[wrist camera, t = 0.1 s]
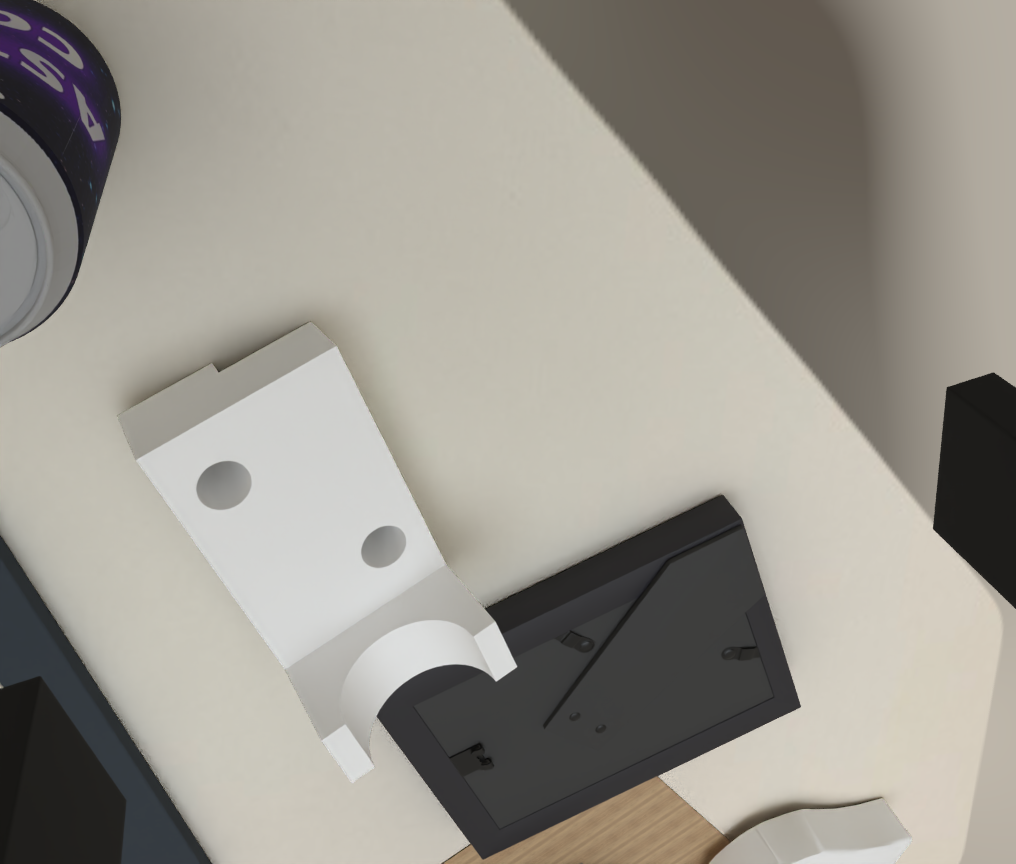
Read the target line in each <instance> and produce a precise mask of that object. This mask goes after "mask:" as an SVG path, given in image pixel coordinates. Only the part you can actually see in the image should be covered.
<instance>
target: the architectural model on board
mask: <svg viewBox="0 0 1016 864" xmlns="http://www.w3.org/2000/svg"><path fill="white" fill-rule="evenodd" d="M730 843H731V842H730V841H729V840H728V839H727V838H726V837H725V836H723V835H722V834H721V833H720V832H719V831H718V830H717V829H716V828H714V827H713V826H712V825H711V824H710V823H709V822H708V821H707V820H705V819H704V818H703V817H702V816H701V815H700V814H699V813H698V812H696V811H695V810H694V809H693V808H692V807H691V806H690V805H689V804H687V803H686V802H685V801H684V800H683V799H682V798H681V797H679V796H678V795H677V794H676V793H675V792H674V791H673V790H672V789H670V788H669V787H668V786H667V785H666V784H665V783H664V782H663V781H661V780H660V779H659V778H658V777H654V778H652V779H650V780H648V781H646V782H644V783H642V784H640V785H638V786H636V787H634V788H632V789H630V790H627V791H625V792H623V793H621V794H619V795H617V796H615V797H613V798H611V799H609V800H607V801H605V802H602V803H600V804H598V805H596V806H594V807H592V808H590V809H588V810H586V811H584V812H582V813H580V814H578V815H575V816H573V817H571V818H569V819H567V820H565V821H563V822H561V823H559V824H557V825H555V826H553V827H550V828H548V829H546V830H544V831H542V832H540V833H538V834H536V835H534V836H532V837H530V838H528V839H526V840H523V841H521V842H519V843H517V844H515V845H513V846H511V847H509V848H507V849H505V850H503V851H501V852H499V853H496V854H494V855H492V856H490V857H488V858H486V859H484V860H483V859H482V858H481V857H480V856H479V854H478V853H477V852H476V850H475V849H474V847H473V846H472V845H470V846H468V847H467V848H465V849H464V850H462V851H461V852H459V853H458V854H456V855H455V856H454V857H452V858H451V859H449V860H448V861H446V862H445V863H443V864H709V863H710V862H711V860H712V859H713V858H714V857H715V856H716V855H717V854H718V853H719V852H720V851H721V850H723V849H724V848H725V847H726V846H727V845H728V844H730Z"/></svg>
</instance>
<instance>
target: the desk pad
mask: <svg viewBox="0 0 1016 864" xmlns="http://www.w3.org/2000/svg"><path fill="white" fill-rule="evenodd" d="M38 676H41V677H42V678H43V680H44V681H45V683H46V684H47V686H48V687H49V689H50V690H51V691H52V693H53V694H54V696H55V697H56V699H57V700H58V702H59V703H60V705H61V706H62V707H63V709H64V710H65V712H66V713H67V715H68V716H69V718H70V719H71V720H72V722H73V723H74V725H75V726H76V728H77V729H78V731H79V732H80V734H81V735H82V736H83V738H84V739H85V741H86V742H87V744H88V745H89V747H90V748H91V749H92V751H93V752H94V754H95V755H96V757H97V758H98V760H99V761H100V763H101V764H102V765H103V767H104V768H105V770H106V771H107V773H108V774H109V776H110V777H111V778H112V780H113V781H114V783H115V784H116V786H117V787H118V789H119V790H120V792H121V793H122V794H123V796H124V797H125V799H126V800H127V801H126V813H125V824H124V836H123V847H122V859H121V864H211V862H210V861H209V859H208V857H207V856H206V854H205V853H204V851H203V850H202V848H201V847H200V845H199V843H198V842H197V840H196V839H195V837H194V836H193V834H192V833H191V831H190V829H189V828H188V826H187V825H186V823H185V822H184V820H183V819H182V817H181V815H180V814H179V812H178V811H177V809H176V808H175V806H174V805H173V803H172V802H171V800H170V798H169V797H168V795H167V794H166V792H165V791H164V789H163V788H162V786H161V784H160V783H159V781H158V780H157V778H156V777H155V775H154V774H153V772H152V770H151V769H150V767H149V766H148V764H147V763H146V761H145V760H144V758H143V756H142V755H141V753H140V752H139V750H138V749H137V747H136V746H135V744H134V742H133V741H132V739H131V738H130V736H129V735H128V733H127V732H126V730H125V728H124V727H123V725H122V724H121V722H120V721H119V719H118V718H117V716H116V715H115V713H114V711H113V710H112V708H111V707H110V705H109V704H108V702H107V701H106V699H105V697H104V696H103V694H102V693H101V691H100V690H99V688H98V687H97V685H96V683H95V682H94V680H93V679H92V677H91V676H90V674H89V673H88V671H87V669H86V668H85V666H84V665H83V663H82V662H81V660H80V659H79V657H78V655H77V654H76V652H75V651H74V649H73V648H72V646H71V645H70V643H69V641H68V640H67V638H66V637H65V635H64V634H63V632H62V631H61V629H60V628H59V626H58V624H57V623H56V621H55V620H54V618H53V617H52V615H51V614H50V612H49V610H48V609H47V607H46V606H45V604H44V603H43V601H42V600H41V598H40V596H39V595H38V593H37V592H36V590H35V589H34V587H33V586H32V584H31V582H30V581H29V579H28V578H27V576H26V575H25V573H24V572H23V570H22V568H21V567H20V565H19V564H18V562H17V561H16V559H15V558H14V556H13V554H12V553H11V551H10V550H9V548H8V547H7V545H6V544H5V542H4V541H3V539H2V537H1V536H0V688H3V687H7V686H10V685H13V684H16V683H19V682H22V681H25V680H29V679H32V678H35V677H38Z"/></svg>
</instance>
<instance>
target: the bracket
mask: <svg viewBox="0 0 1016 864" xmlns="http://www.w3.org/2000/svg"><path fill="white" fill-rule="evenodd" d="M117 417H118V420H119V422H120V424H121V427H122V429H123V431H124V434H125V436H126V438H127V441H128V443H129V445H130V448H131V450H132V452H133V455H134V457H135V459H136V461H137V462H138V464H139V465H140V467H141V468H142V469H143V471H144V472H145V474H146V475H147V477H148V478H149V479H150V481H151V482H152V484H153V485H154V486H155V488H156V489H157V491H158V492H159V493H160V495H161V496H162V498H163V499H164V500H165V502H166V503H167V505H168V506H169V507H170V509H171V510H172V512H173V513H174V514H175V516H176V517H177V519H178V520H179V522H180V523H181V524H182V526H183V527H184V529H185V530H186V531H187V533H188V534H189V536H190V537H191V538H192V540H193V541H194V543H195V544H196V545H197V547H198V548H199V550H200V551H201V552H202V554H203V555H204V557H205V558H206V559H207V561H208V562H209V564H210V565H211V567H212V568H213V569H214V571H215V572H216V574H217V575H218V576H219V578H220V579H221V581H222V582H223V583H224V585H225V586H226V588H227V589H228V590H229V592H230V593H231V595H232V596H233V597H234V599H235V600H236V602H237V603H238V605H239V606H240V607H241V609H242V610H243V612H244V613H245V614H246V616H247V617H248V619H249V620H250V621H251V623H252V624H253V626H254V627H255V628H256V630H257V631H258V633H259V634H260V635H261V637H262V638H263V640H264V641H265V642H266V644H267V645H268V647H269V648H270V650H271V651H272V652H273V654H274V655H275V657H276V658H277V659H278V661H279V662H280V664H281V665H282V666H283V668H284V669H285V671H286V673H287V675H288V677H289V679H290V681H291V683H292V685H293V687H294V688H295V690H296V692H297V694H298V696H299V698H300V700H301V702H302V704H303V706H304V708H305V710H306V712H307V714H308V716H309V718H310V720H311V722H312V724H313V726H314V728H315V730H316V732H317V734H318V736H319V738H320V739H321V741H322V743H323V744H324V745H325V747H326V748H327V749H328V751H329V752H330V754H331V755H332V756H333V758H334V759H335V761H336V762H337V763H338V765H339V766H340V767H341V769H342V770H343V772H344V773H345V774H346V776H347V777H348V778H349V780H350V781H351V783H353V782H355V781H356V780H357V779H359V778H360V777H362V776H363V775H365V774H366V773H367V772H369V771H370V770H372V769H373V768H374V767H375V766H374V764H373V762H372V758H371V755H370V744H369V742H370V734H371V729H372V726H373V723H374V721H375V718H376V716H377V714H378V712H379V710H380V709H381V707H382V706H383V704H384V703H385V702H386V700H387V699H388V698H389V697H390V696H391V694H392V693H393V692H394V691H395V690H396V689H398V688H399V687H400V686H401V685H402V684H404V683H405V682H406V681H408V680H409V679H411V678H412V677H414V676H416V675H417V674H420V673H422V672H424V671H426V670H429V669H432V668H435V667H439V666H443V665H451V664H460V665H468V666H473V667H476V668H478V669H481V670H483V671H484V672H486V673H488V674H489V675H490V676H491V677H492V678H493V679H494V680H495V681H496V682H497V681H498V680H499V679H501V678H502V677H504V676H505V675H506V674H508V673H509V672H511V671H512V670H514V669H515V668H516V667H517V665H516V663H515V661H514V659H513V657H512V655H511V653H510V651H509V649H508V647H507V644H506V642H505V640H504V638H503V636H502V634H501V632H500V630H499V628H498V626H497V624H496V622H495V620H494V619H493V618H492V617H491V616H490V615H489V613H488V612H487V611H486V610H485V609H484V608H483V606H482V605H481V604H480V603H479V602H478V601H477V599H476V598H475V597H474V596H473V595H472V594H471V592H470V591H469V590H468V589H467V588H466V587H465V585H464V584H463V583H462V582H461V581H460V580H459V579H458V577H457V576H456V575H455V574H454V573H453V572H452V570H451V569H450V568H449V567H448V566H447V565H446V563H445V561H444V559H443V557H442V555H441V553H440V551H439V549H438V547H437V545H436V543H435V541H434V539H433V537H432V535H431V533H430V531H429V529H428V527H427V525H426V523H425V521H424V519H423V517H422V515H421V513H420V511H419V509H418V507H417V505H416V503H415V501H414V499H413V497H412V495H411V493H410V491H409V489H408V487H407V485H406V483H405V481H404V479H403V477H402V475H401V473H400V471H399V469H398V467H397V465H396V463H395V461H394V459H393V457H392V455H391V453H390V451H389V449H388V447H387V445H386V443H385V441H384V439H383V437H382V435H381V433H380V431H379V429H378V427H377V425H376V423H375V421H374V419H373V417H372V415H371V413H370V411H369V409H368V407H367V405H366V403H365V401H364V399H363V397H362V395H361V393H360V391H359V389H358V387H357V385H356V383H355V381H354V379H353V377H352V375H351V373H350V371H349V369H348V367H347V365H346V363H345V362H344V360H343V358H342V356H341V354H340V352H339V350H338V348H337V346H336V345H335V344H334V343H333V342H332V341H331V340H330V339H329V338H328V337H327V336H326V335H325V334H324V333H323V332H322V331H321V330H319V329H318V328H317V327H316V326H315V325H314V324H313V323H312V322H311V321H310V322H308V323H307V324H305V325H303V326H301V327H299V328H298V329H296V330H294V331H292V332H290V333H289V334H287V335H285V336H283V337H282V338H280V339H278V340H276V341H274V342H273V343H271V344H269V345H267V346H265V347H264V348H262V349H260V350H258V351H256V352H255V353H253V354H251V355H249V356H247V357H246V358H244V359H242V360H240V361H238V362H237V363H235V364H233V365H231V366H230V367H228V368H226V369H224V370H222V371H221V372H218V371H217V369H216V368H215V367H214V365H213V364H212V363H211V364H209V365H207V366H206V367H204V368H202V369H200V370H198V371H197V372H195V373H193V374H191V375H189V376H188V377H186V378H184V379H182V380H180V381H179V382H177V383H175V384H173V385H171V386H170V387H168V388H166V389H164V390H162V391H160V392H159V393H157V394H155V395H153V396H151V397H150V398H148V399H146V400H144V401H142V402H141V403H139V404H137V405H135V406H133V407H132V408H130V409H128V410H126V411H124V412H123V413H121V414H119V415H117Z"/></svg>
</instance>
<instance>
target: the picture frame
mask: <svg viewBox="0 0 1016 864" xmlns="http://www.w3.org/2000/svg"><path fill="white" fill-rule="evenodd" d="M485 610H486V611H487V612H488V613H489V615H490V616H491V617H492V618H493V619H494V620H495V622H496V624H497V626H498V628H499V630H500V632H501V634H502V636H503V638H504V640H505V642H506V644H507V647H508V649H509V651H510V653H511V655H512V657H513V659H514V661H515V663H516V665H517V667H516V668H515V669H514V670H512V671H511V672H509V673H508V674H506V675H505V676H504V677H502V678H501V679H499V680H498V681H497V682H496V681H495V680H494V679H493V678H492V677H491V676H490V675H489V674H488V673H486V672H484V671H483V670H481V669H478V668H476V667H473V666H468V665H460V664H451V665H443V666H439V667H435V668H432V669H429V670H426V671H424V672H422V673H420V674H417V675H416V676H414V677H412V678H411V679H409V680H408V681H406V682H405V683H404V684H402V685H401V686H400V687H399V688H398V689H396V690H395V691H394V692H393V693H392V694H391V696H390V697H389V698H388V699H387V700H386V702H385V703H384V704H383V706H382V707H381V709H380V710H379V712H378V714H377V718H378V719H379V720H380V722H381V723H382V724H383V726H384V727H385V728H386V730H387V731H388V732H389V734H390V735H391V737H392V738H393V739H394V741H395V742H396V743H397V745H398V746H399V747H400V749H401V750H402V751H403V753H404V754H405V755H406V757H407V758H408V760H409V761H410V762H411V764H412V765H413V766H414V768H415V769H416V770H417V772H418V773H419V774H420V776H421V777H422V778H423V780H424V781H425V783H426V784H427V785H428V787H429V788H430V789H431V791H432V792H433V793H434V795H435V796H436V797H437V799H438V800H439V801H440V803H441V804H442V806H443V807H444V808H445V810H446V811H447V812H448V814H449V815H450V816H451V818H452V819H453V820H454V822H455V823H456V824H457V826H458V827H459V829H460V830H461V831H462V833H463V834H464V835H465V837H466V838H467V839H468V841H469V842H470V843H471V845H472V846H473V847H474V849H475V850H476V852H477V853H478V854H479V856H480V857H481V858H482V859H483V860H484V859H486V858H488V857H490V856H492V855H494V854H496V853H499V852H501V851H503V850H505V849H507V848H509V847H511V846H513V845H515V844H517V843H519V842H521V841H523V840H526V839H528V838H530V837H532V836H534V835H536V834H538V833H540V832H542V831H544V830H546V829H548V828H550V827H553V826H555V825H557V824H559V823H561V822H563V821H565V820H567V819H569V818H571V817H573V816H575V815H578V814H580V813H582V812H584V811H586V810H588V809H590V808H592V807H594V806H596V805H598V804H600V803H602V802H605V801H607V800H609V799H611V798H613V797H615V796H617V795H619V794H621V793H623V792H625V791H627V790H630V789H632V788H634V787H636V786H638V785H640V784H642V783H644V782H646V781H648V780H650V779H652V778H654V777H657V776H659V775H661V774H663V773H665V772H667V771H669V770H671V769H673V768H675V767H677V766H679V765H682V764H684V763H686V762H688V761H690V760H692V759H694V758H696V757H698V756H700V755H702V754H704V753H706V752H709V751H711V750H713V749H715V748H717V747H719V746H721V745H723V744H725V743H727V742H729V741H731V740H734V739H736V738H738V737H740V736H742V735H744V734H746V733H748V732H750V731H752V730H754V729H756V728H758V727H761V726H763V725H765V724H767V723H769V722H771V721H773V720H775V719H777V718H779V717H781V716H783V715H786V714H788V713H790V712H792V711H794V710H796V709H798V708H800V707H801V705H800V702H799V699H798V696H797V692H796V689H795V686H794V683H793V680H792V676H791V673H790V670H789V667H788V664H787V661H786V657H785V654H784V651H783V648H782V645H781V641H780V638H779V635H778V632H777V629H776V626H775V622H774V619H773V616H772V613H771V610H770V606H769V603H768V600H767V597H766V594H765V591H764V587H763V584H762V581H761V578H760V575H759V571H758V568H757V565H756V562H755V559H754V556H753V552H752V549H751V546H750V543H749V540H748V536H747V533H746V530H745V527H744V524H743V521H742V518H741V517H740V516H739V514H738V513H737V512H736V511H735V509H734V508H733V507H732V506H731V504H730V503H729V502H728V500H727V499H726V498H725V497H724V496H723V495H721V496H719V497H717V498H715V499H713V500H711V501H709V502H707V503H705V504H703V505H701V506H699V507H697V508H694V509H692V510H690V511H688V512H686V513H684V514H682V515H680V516H678V517H676V518H674V519H672V520H670V521H667V522H665V523H663V524H661V525H659V526H657V527H655V528H653V529H651V530H649V531H647V532H645V533H643V534H641V535H638V536H636V537H634V538H632V539H630V540H628V541H626V542H624V543H622V544H620V545H618V546H616V547H614V548H611V549H609V550H607V551H605V552H603V553H601V554H599V555H597V556H595V557H593V558H591V559H589V560H587V561H584V562H582V563H580V564H578V565H576V566H574V567H572V568H570V569H568V570H566V571H564V572H562V573H560V574H558V575H555V576H553V577H551V578H549V579H547V580H545V581H543V582H541V583H539V584H537V585H535V586H533V587H531V588H528V589H526V590H524V591H522V592H520V593H518V594H516V595H514V596H512V597H510V598H508V599H506V600H504V601H501V602H499V603H497V604H495V605H493V606H491V607H489V608H487V609H485Z"/></svg>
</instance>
